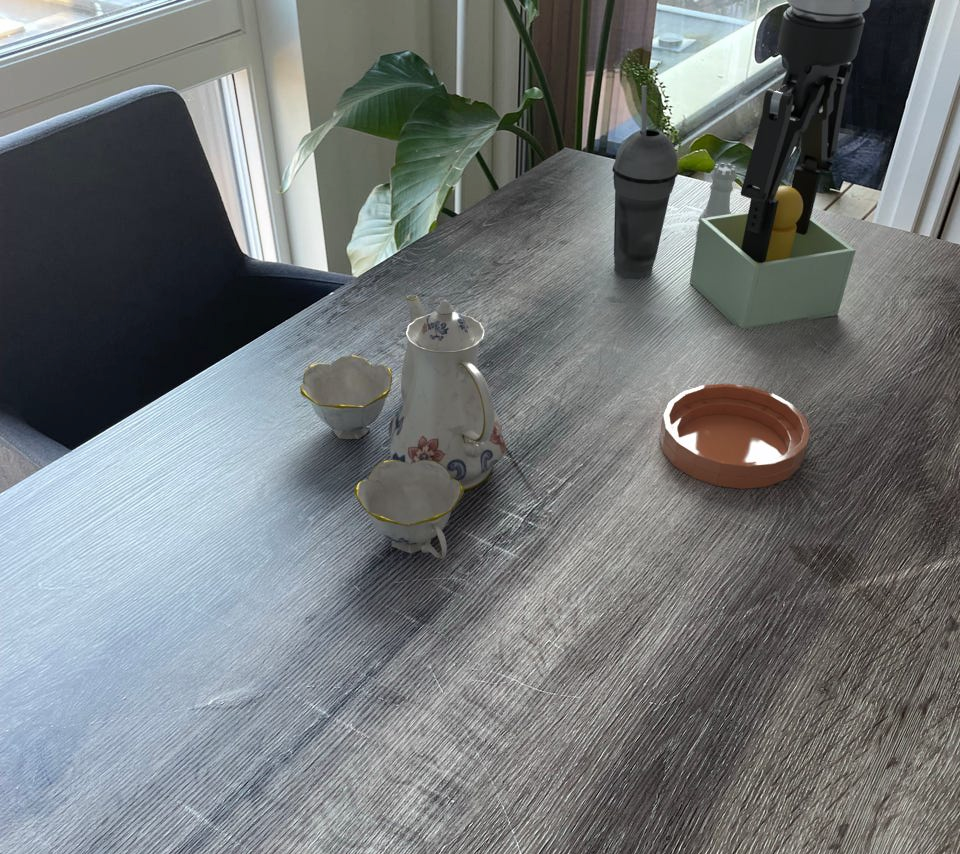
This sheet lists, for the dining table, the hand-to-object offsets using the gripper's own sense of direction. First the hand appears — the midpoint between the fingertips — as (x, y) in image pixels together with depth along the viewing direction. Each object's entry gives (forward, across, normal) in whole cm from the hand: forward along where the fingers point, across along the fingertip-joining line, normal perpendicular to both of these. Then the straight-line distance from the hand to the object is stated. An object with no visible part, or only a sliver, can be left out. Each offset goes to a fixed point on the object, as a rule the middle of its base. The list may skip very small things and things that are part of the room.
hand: (774, 244), depth 113 cm
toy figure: (+6, 0, 0) cm, 6 cm away
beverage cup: (+7, +4, -15) cm, 17 cm away
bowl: (+6, +28, +13) cm, 31 cm away
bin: (+6, 0, 0) cm, 6 cm away
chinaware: (+7, +50, -7) cm, 51 cm away
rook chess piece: (+7, -11, -13) cm, 18 cm away
